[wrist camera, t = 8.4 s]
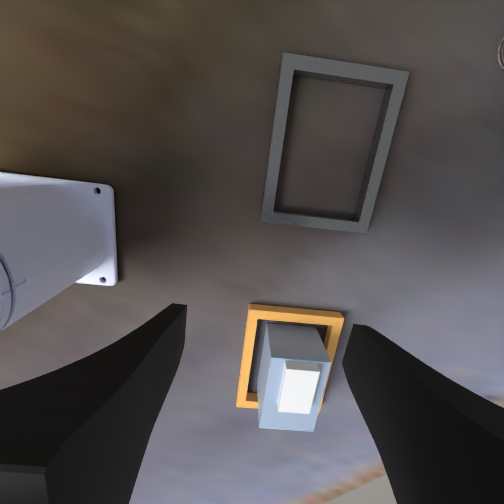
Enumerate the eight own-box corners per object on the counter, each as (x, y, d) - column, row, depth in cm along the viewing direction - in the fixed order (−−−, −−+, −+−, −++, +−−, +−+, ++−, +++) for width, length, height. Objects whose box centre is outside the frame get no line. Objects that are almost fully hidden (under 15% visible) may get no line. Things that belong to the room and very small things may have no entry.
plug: (256, 383, 25) (259, 437, 20) (266, 322, 23) (272, 365, 18) (301, 387, 25) (315, 441, 20) (315, 326, 23) (334, 370, 18)
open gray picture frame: (260, 219, 20) (260, 221, 19) (281, 59, 17) (283, 52, 16) (360, 230, 20) (366, 233, 19) (400, 77, 17) (409, 71, 16)
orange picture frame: (236, 398, 25) (236, 406, 24) (249, 303, 22) (249, 309, 21) (316, 403, 26) (319, 412, 25) (340, 312, 22) (344, 318, 22)
